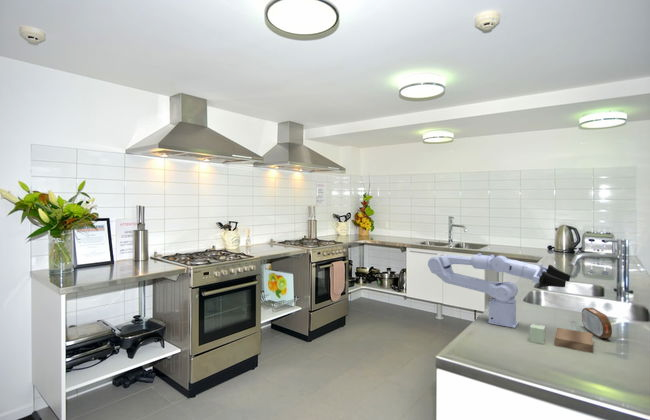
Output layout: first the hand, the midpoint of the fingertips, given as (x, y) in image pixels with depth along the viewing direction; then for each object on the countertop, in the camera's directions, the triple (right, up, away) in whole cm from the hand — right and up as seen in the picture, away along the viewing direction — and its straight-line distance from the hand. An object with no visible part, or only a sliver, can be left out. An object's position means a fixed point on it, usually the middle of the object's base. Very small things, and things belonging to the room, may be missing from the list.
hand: (567, 281), depth 124 cm
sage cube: (-13, -20, -4) cm, 24 cm away
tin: (+12, -20, +3) cm, 23 cm away
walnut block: (-2, -20, -5) cm, 21 cm away
